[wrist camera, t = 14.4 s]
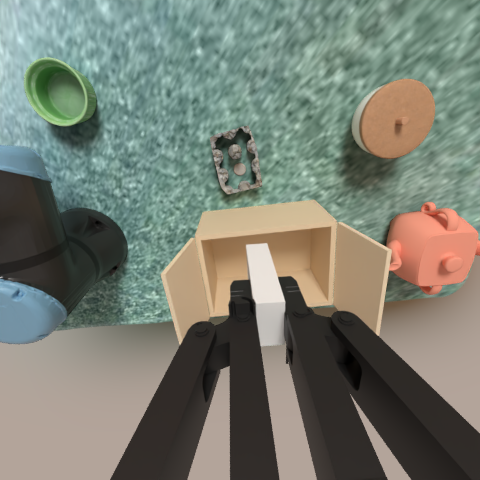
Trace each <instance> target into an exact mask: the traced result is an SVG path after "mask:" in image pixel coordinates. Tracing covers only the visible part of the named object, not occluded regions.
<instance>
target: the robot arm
mask: <svg viewBox="0 0 480 480" xmlns="http://www.w3.org/2000/svg"><path fill="white" fill-rule="evenodd" d="M51 183H52V180H51V178H49V176H48V174H47V171H46V168H45V165H44V163H43V160H42V158H41V156H40V155H39V154H38V153H37V152H36V151H34V150H33V149H31V148H28V147H24V146H9V145H0V342H2V343H8V344H27V343H33V342H36V341H39V340H41V339H43V338H45V337H47V336H48V335H49V334H51V332H53V330H54V329H55V328H56V327H57V326H58V325H60V324H61V323H63V321H65V319H66V318H67V316H68V315H69V314H70V313H71V312H72V310H73V309H74V308H75V307H76V305H77V304H78V303H79V302H80V300H81V299H82V298H83V297H84V296H85V294H86V293H87V292H88V291H89V289H90V288H91V287H92V286H93V285H94V284H95V283H97V282H99V281H101V280H103V279H105V278H107V277H109V276H111V275H112V274H114V273H115V272H116V271H117V270H118V269H119V268H120V266H121V265H122V264H123V262H124V261H125V259H126V256H127V242H126V238H125V236H124V234H123V232H122V230H121V229H120V227H119V226H118V225H117V224H116V223H115V222H114V221H113V220H112V219H110V218H109V217H108V216H106V215H104V214H102V213H100V212H98V211H95V210H92V209H87V208H74V209H70V210H67V211H65V212H63V213H61V214H60V212H59V209H58V206H57V202H56V199H55V196H54V193H53V190H52V186H51ZM246 256H247V275H248V280H234V281H233V282H232V284H231V285H230V301H229V304H228V307H229V318H228V319H227V320H226V321H225V322H223V323H221V324H219V325H216V326H214V324H212V323H211V322H208V321H200V322H197V323H195V324H193V325H192V326H191V327H190V328H189V329H188V331H187V333H186V335H185V337H184V339H183V341H182V343H181V344H180V346H179V349H178V350H177V352H176V354H175V356H174V358H173V360H172V362H171V364H170V366H169V368H168V370H167V372H166V373H165V375H164V377H163V379H162V381H161V383H160V385H159V387H158V389H157V391H156V393H155V394H154V397H153V398H152V400H151V402H150V404H149V406H148V408H147V410H146V412H145V414H144V416H143V418H142V419H141V421H140V423H139V425H138V427H137V429H136V431H135V433H134V435H133V437H132V439H131V441H130V443H129V444H128V447H127V448H126V450H125V452H124V454H123V456H122V458H121V460H120V462H119V464H118V466H117V468H116V470H115V471H114V473H113V475H112V477H111V479H110V480H187V478H188V475H189V472H190V468H191V465H192V462H193V459H194V456H195V452H196V449H197V446H198V443H199V439H200V436H201V433H202V430H203V426H204V423H205V419H206V417H207V413H208V410H209V407H210V404H211V400H212V397H213V394H214V390H215V387H216V384H217V381H218V378H219V374H220V369H223V368H225V367H228V366H230V480H279V473H278V467H277V459H276V453H275V445H274V438H273V431H272V424H271V417H270V410H269V403H268V396H267V389H266V382H265V375H264V368H263V361H262V354H261V346H269V345H284V343H285V341H286V348H287V349H286V364H288V362H289V366H290V370H291V374H292V378H293V382H294V386H295V391H296V394H297V399H298V403H299V407H300V411H301V415H302V419H303V423H304V428H305V431H306V436H307V440H308V444H309V448H310V452H311V457H312V461H313V465H314V468H315V473H316V477H317V480H388V479H387V477H386V475H385V473H384V471H383V468H382V466H381V464H380V462H379V459H378V457H377V455H376V452H375V450H374V448H373V446H372V443H371V441H370V439H369V436H368V434H367V432H366V430H365V427H364V425H363V423H362V420H361V418H360V416H359V414H358V411H357V409H356V407H355V405H354V402H353V400H352V398H351V395H352V397H353V398H354V400H355V401H356V403H357V404H358V405H359V406H360V408H361V410H362V411H363V412H364V414H365V415H366V417H367V418H368V419H369V421H370V422H371V424H372V425H373V426H374V428H375V429H376V431H377V432H378V433H379V435H380V436H381V438H382V439H383V441H384V442H385V443H386V445H387V446H388V447H389V449H390V450H391V452H392V453H393V455H394V456H395V457H396V459H397V460H398V462H399V463H400V464H401V466H402V467H403V469H404V470H405V471H406V473H407V474H408V476H409V477H410V478H411V480H480V433H479V432H478V431H477V430H476V429H474V428H473V427H472V426H471V425H470V424H469V423H468V422H467V421H466V420H465V419H464V418H463V417H462V416H461V415H460V414H459V413H458V412H457V411H456V410H455V409H454V408H453V407H452V406H450V405H449V404H448V403H447V402H446V401H445V400H444V399H443V398H442V397H441V396H440V395H439V394H438V393H437V392H436V391H435V390H434V389H433V388H432V387H431V386H430V385H429V384H428V383H427V382H426V381H425V380H424V379H422V378H421V377H420V376H419V375H418V374H417V373H416V372H415V371H414V370H413V369H412V368H411V367H410V366H409V365H408V364H407V363H406V362H405V361H404V360H402V358H401V357H399V356H398V355H397V354H396V353H395V352H394V351H393V350H392V349H391V348H390V347H389V346H388V345H387V344H386V343H385V342H384V341H383V340H382V339H381V338H380V337H379V336H378V335H377V334H376V333H375V332H374V331H373V330H372V329H370V328H369V327H368V326H367V325H366V324H365V323H364V322H363V321H362V320H361V319H360V318H359V317H358V316H357V315H355V314H354V313H351V312H349V311H337V312H335V313H333V315H332V316H331V317H324V316H320V315H317V314H314V312H313V310H312V309H311V308H309V307H308V306H307V305H306V302H305V300H304V297H303V295H302V293H301V291H300V288H299V286H298V283H297V281H296V280H295V279H294V278H293V277H292V276H284V277H277V273H276V270H275V267H274V264H273V261H272V257H271V254H270V251H269V248H268V244H267V243H263V244H248V245H246ZM350 394H351V395H350Z"/></svg>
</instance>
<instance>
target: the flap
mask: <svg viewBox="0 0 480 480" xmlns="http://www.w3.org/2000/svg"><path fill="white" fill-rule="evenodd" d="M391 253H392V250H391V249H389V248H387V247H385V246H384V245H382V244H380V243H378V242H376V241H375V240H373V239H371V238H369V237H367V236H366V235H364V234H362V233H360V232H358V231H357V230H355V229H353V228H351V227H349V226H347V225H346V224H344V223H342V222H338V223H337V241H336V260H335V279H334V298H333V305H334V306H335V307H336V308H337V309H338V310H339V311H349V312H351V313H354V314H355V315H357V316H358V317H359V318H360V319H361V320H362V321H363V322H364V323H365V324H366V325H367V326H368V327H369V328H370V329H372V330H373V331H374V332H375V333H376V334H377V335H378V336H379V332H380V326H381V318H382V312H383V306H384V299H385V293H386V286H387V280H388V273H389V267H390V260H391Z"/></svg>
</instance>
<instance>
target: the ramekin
mask: <svg viewBox="0 0 480 480" xmlns="http://www.w3.org/2000/svg"><path fill="white" fill-rule="evenodd" d="M24 88H25V93H26V96H27V98H28V101H29V103H30V104H31V106H32V107H33V109H34V110H35V111H36V112H37V114H38V115H40V116H41V117H42V118H43V119H44V120H46V121H48V122H49V123H52V124H54V125H57V126H72V125H75V124H77V123H82V122H84V121H87V120H88V119H89V118H91V116H92V115H93V113H94V112H95V108H96V95H95V92H94V89H93V87H92V85H91V83H90V82H89V81H88V79H87V78H86V77H85V76H84V75H83V74H81V73H80V72H79V71H77V70H75V69H73V68H71V67H70V66H69V65H67V64H66V63H64V62H62V61H60V60H57V59H54V58H41V59H38V60H36V61H34V62H33V63H32V64H30V66H29V67H28V68H27V70H26V73H25V76H24Z"/></svg>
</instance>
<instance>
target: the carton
mask: <svg viewBox="0 0 480 480" xmlns="http://www.w3.org/2000/svg"><path fill="white" fill-rule="evenodd" d="M336 227H337V221H336V220H335V219H334V218H333V217H332V216H331V215H330V214H329V213H328V212H327V211H326V210H325V209H324V208H323V207H322V206H321V205H319V204H318V203H317V202H316V201H315V200H308V201H299V202H289V203H280V204H271V205H262V206H253V207H244V208H234V209H225V210H216V211H207V212H203V213H202V216H201V219H200V222H199V225H198V228H197V231H196V234H195V240H196V245H197V250H198V255H199V261H200V266H201V271H202V276H203V281H204V286H205V292H206V297H207V302H208V307H209V312H210V317H216V316H226V315H229V307H228V304H229V301H230V285H231V284H232V282H233V281H234V280H248V275H247V256H246V245H248V244H263V243H267V244H268V248H269V251H270V254H271V257H272V261H273V264H274V267H275V270H276V273H277V277H284V276H292V277H293V278H294V279H295V280H296V281H297V283H298V286H299V288H300V291H301V293H302V295H303V297H304V300H305V302H306V305H307V306H308V307H315V306H324V305H333V285H334V266H335V247H336Z"/></svg>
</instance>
